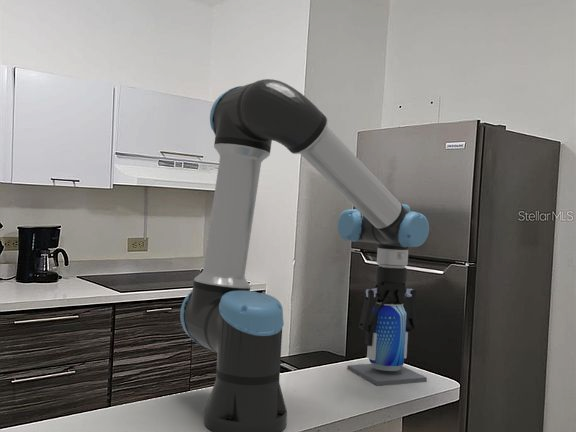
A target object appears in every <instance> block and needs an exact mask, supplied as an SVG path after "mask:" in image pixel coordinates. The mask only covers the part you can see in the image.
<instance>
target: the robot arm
mask: <svg viewBox="0 0 576 432" xmlns="http://www.w3.org/2000/svg"><path fill="white" fill-rule="evenodd" d="M328 122H329V120H328V118H327V116H326V115H325V114H324V113H323V112H322V111H321V110H320V109H319V108H318V107H317V106H316V105H315V104H314V103H313V102H312V101H311V100H310V99H308V98H307V97H306V96H305V95H304V94H303V93H301V92H300V91H299V90H297V89H295V87H293V86H291V85H289V84H287V83H286V82H283V81H281V80H277V79H269V78H265V79H264V78H263V79H260V80H257V81H254V82H251V83H247V84H245V85H239V86H235V87H232V88H230V89H228V90H227V91H225V92H223V93H222V94H220V95H219V96H218V97H217V98H216V100H214V102H213V105H211V109H210V114H209V123H210V124H209V125H210V128H211V130H212V131H213V133H214V137H215V138H214V144H213V145H214V146H213V147H214V149H215V151H216V152H217V153H218V154H219V160H218V161H219V163H218V168H217V173H216V174H217V175H216V182H215V189H214V195H213V201H212V207H211V215H210V220H209V228H208V235H207V240H206V248H205V253H204V254H205V255H204V262H203V268H202V271H201V273H199V274H198V275H197V276H196V277H194V278H193V283H192V290H191V291H190V293H188V294H187V295H186V296H185V298H184V299H183V301H182V303H181V306H180V315H179V317H180V324H181V326H182V328H183V331H184V332H185V334H186V335H187V336H188V337H189V338H190V339H192V340H193V342H194V343H196V344H197V345H198V346H201V347H202V348H206V349H208V350H210V351H212V352H214V353H215V354H217V356H216V375H215V382H214V384H213V387H212V389H211V392H210V395H209V398H208V400H207V403H206V406H205V408H204V409H205V410H204V418H203V420H204V421H203V422H204V425H205V427H207V429H209V430H211V431H212V432H282V431H284V429H285V428H286V427H287V424H288V423H287V420H288V411H287V406H286V403H285V398H284V396H283V392H282V391H283V390H282V387H281V384H280V374H281V373H280V372H281V361H282V360H281V356H282V340H283V327H284V324H285V323H284V312H283V306H282V305H283V304H282V303H281V302H280V300H279V299H277V298H275V296H272V295H269V294H267V293H263V292H257V291H255V290H254V291H253V290H251V284H250V283H249V281H248V280H247V279H246V276H245V275H246V268H247V264H248V263H247V261H248V255H249V248H250V243H251V242H250V241H251V234H252V227H253V221H254V214H255V207H256V201H257V194H258V187H259V181H260V173H261V167H262V163H263V161H264V160H267V158H268V157H269V156H270V155H271V149H272V142H273V141H274V142H276V143H279V144H281V146H283V147H285V148H286V149H287V150H288V151H289V152H290V153H291V154H293V155H301V156H302V157H303V158H304V159H305V160H306V161H307V162H308V163H309V164H310V165H311V166H312V167H313V168H314V169H315V170H316V171H317V172H318V173H319V174H320V175H321V176H322V177H323V178H324V179H325V180H327V182H328V183H329V184H331V186H332V187H333V188H335V189H336V191H338V192H339V193H340V195H342V197H344V198H345V199H346V201H348V202H349V203H350V204H351V205H352V206H353V207H354V209H352V208H351V209H348V208H347V209H345V210H343V211H342V212H341V213H340V215H339V217H338V219H337V232H338V235H339V236H340V238H341V239H343V240H344V241H348V242H353V243H356V242H363V243H371V244H377V252H376V264H377V266H376V267H375V268H376V272H375V280H376V281H375V282H376V285H375V286H374V287H373V288H365V289H364V291H363V292H364V293H363V294H364V300H363V305H362V309H361V313H360V319H359V323H358V328H359V329H360V330H363V331H364V332H365V336H364V337H365V339H364V342H365V345H366V346H367V349H366V350H367V351H366V359H368V360H369V359H371V360H375V358H376V341H377V333H374V330H375V328H376V326H377V320H378V312H379V310H380V308H381V307H383V306H384V304H399V305H401V304H403V307H404V309H405V311H406V313H407V315H406V333H405V350H404V359H407V355H408V345H409V344H410V342H411V341H410V340H411V333H413V332H414V329H415V330H416V329H418V326H419V325H418V315H417V314H418V313H417V306H416V296H417V290H416V289H413V288H410V287H409V288H407V286H406V283H407V280H408V269H407V267H406V266H408V263H409V262H408V261H409V248H416V247H419V246H422V245H423V244H424V243H426V241H427V239H428V237H429V232H430V225H429V221H428V219H427V217H426V216H425V215H424V214H422V213H420V212H418V211H417V212H416V211H414V210H413V211H412V210H411V207H410V206H409V205H408V204H405V203H401V202H400V201H399V200H398V199H397V198H396V197H395V196H394V195H393V194H392V193H391V192H390V190H388V188H386V187H385V186H384V184H383V183H382V182H381V180H379V179H378V178H377V177H376V176H375V175H374V173H372V171H370V170H369V169H368V167H366V165H365V164H364V163H363V162H362V161H361V160H360V159H359V158H358V157H357V156H356V155H355V154H354V153H353V152H352V151H351V150H350V148H349V147H348V146H347V145H346V144H345V143H344V142H343V141H342V140H341V138H339V137H338V136H337V135H336V133H334V132H333V130H331V128H330V127H329V126H328ZM376 296H377V297H376ZM404 296H405V301H404V298H403V297H404ZM375 298H376V299H375ZM377 302H378V303H381V302H382V303H381V304H377ZM405 306H406V307H405ZM373 308H374V309H373ZM376 308H377V313H374V312H373V311H374V310H375V309H376ZM372 310H373V311H372Z"/></svg>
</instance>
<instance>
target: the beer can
mask: <svg viewBox="0 0 576 432" xmlns="http://www.w3.org/2000/svg"><path fill="white" fill-rule="evenodd" d="M381 303H382V302H381ZM381 303H378V302H377V304H381ZM404 307H405V306H404ZM404 307H403V304H401V305H399V304H384V306H383V307H381V308H380V310H379V312H378V320H377V326H376V328H375V330H374V333H377V341H376V358H375V360H371V359H369V358H368V360H369V361H368V362H369V364H372V367H373V368H375V369H379V370H384V371H397V370H400V368H401V366H404V364H405V362H404V361H405V358H404V350H405V333H406V315H407V310H406V308H405V309H404ZM373 309H374V307H373V308H372V311H373ZM405 310H406V311H405ZM373 312H374V313H377V308H376V309H375V310H374V311H373Z"/></svg>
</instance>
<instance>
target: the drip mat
mask: <svg viewBox="0 0 576 432" xmlns="http://www.w3.org/2000/svg"><path fill="white" fill-rule="evenodd" d="M346 368H347V369H346V370H347V371H350V372H352V373H354V374H356V375H357V376H359V377H360V378H362V379H364V380H365V381H367V382H369V383H371V384H373V385H375V386H376V387H378V386H390V384H391V385H401V384H403V383H404V384H413V383H414V384H415V383H427V381H428V378H427V376H424V375H422V374H420V373H419V372H416V371H414V370H412V369H409V368H407V367H406V366H404V365H402V366H401V368H400V370H397V371H384V370H379V369H375V368H373V367H372V364H371V363H361V364H348V365H347V366H346Z"/></svg>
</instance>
